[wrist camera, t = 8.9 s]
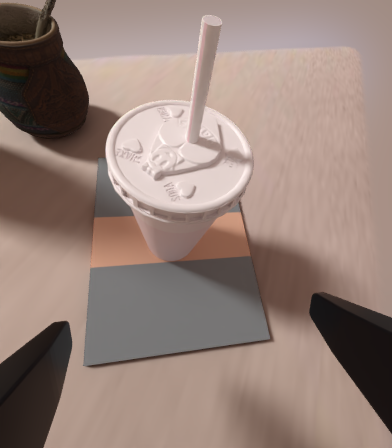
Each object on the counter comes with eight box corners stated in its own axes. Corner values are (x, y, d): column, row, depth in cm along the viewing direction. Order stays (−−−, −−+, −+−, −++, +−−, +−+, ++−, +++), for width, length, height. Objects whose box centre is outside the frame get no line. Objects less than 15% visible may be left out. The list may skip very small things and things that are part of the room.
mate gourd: (-7, 116, 22) (-113, -38, 13) (67, 87, 25) (20, -53, 16) (41, 162, 20) (-43, 22, 12) (112, 124, 24) (88, -7, 15)
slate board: (268, 339, 17) (270, 339, 16) (85, 365, 14) (83, 366, 14) (227, 161, 24) (228, 158, 23) (99, 160, 21) (98, 157, 21)
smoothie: (226, 237, 19) (350, 46, 7) (173, 298, 17) (220, 159, 4) (169, 190, 21) (187, -43, 8) (110, 239, 18) (5, -1, 5)
